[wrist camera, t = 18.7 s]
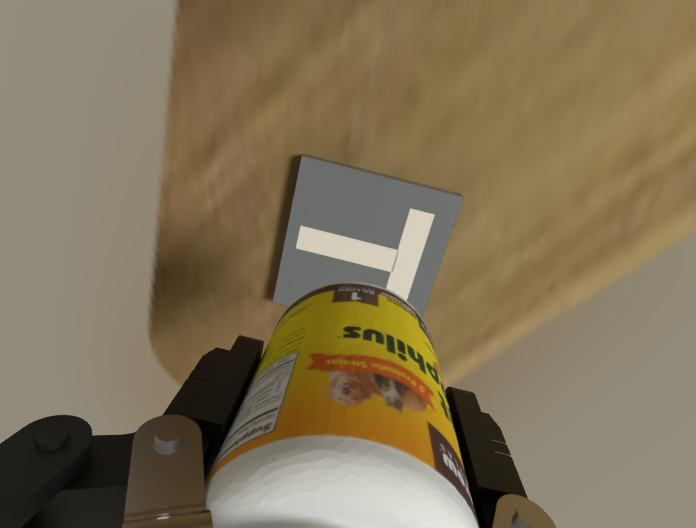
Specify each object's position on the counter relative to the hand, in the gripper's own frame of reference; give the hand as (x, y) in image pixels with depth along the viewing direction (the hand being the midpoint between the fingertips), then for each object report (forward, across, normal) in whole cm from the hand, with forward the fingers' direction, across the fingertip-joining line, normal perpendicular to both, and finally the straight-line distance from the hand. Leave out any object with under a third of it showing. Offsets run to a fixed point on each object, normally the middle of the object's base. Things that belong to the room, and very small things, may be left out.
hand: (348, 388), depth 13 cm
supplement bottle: (+3, 0, 0) cm, 3 cm away
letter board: (+13, 0, 0) cm, 13 cm away
